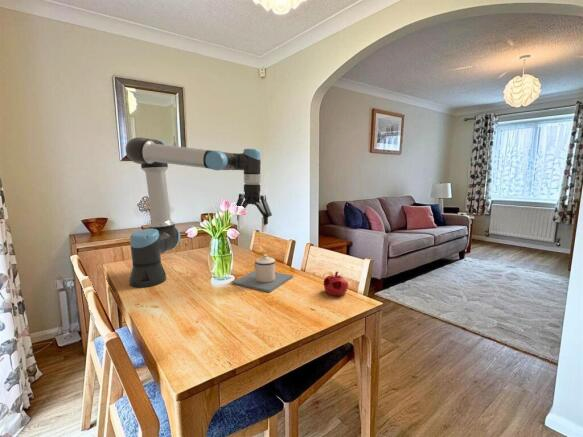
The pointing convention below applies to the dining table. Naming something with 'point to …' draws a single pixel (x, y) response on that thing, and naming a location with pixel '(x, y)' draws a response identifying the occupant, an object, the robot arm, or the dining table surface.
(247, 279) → the slate tile
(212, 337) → the dining table surface
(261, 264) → the teacup with lid
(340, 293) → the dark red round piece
